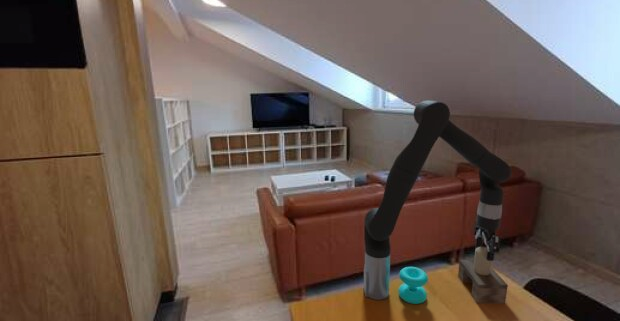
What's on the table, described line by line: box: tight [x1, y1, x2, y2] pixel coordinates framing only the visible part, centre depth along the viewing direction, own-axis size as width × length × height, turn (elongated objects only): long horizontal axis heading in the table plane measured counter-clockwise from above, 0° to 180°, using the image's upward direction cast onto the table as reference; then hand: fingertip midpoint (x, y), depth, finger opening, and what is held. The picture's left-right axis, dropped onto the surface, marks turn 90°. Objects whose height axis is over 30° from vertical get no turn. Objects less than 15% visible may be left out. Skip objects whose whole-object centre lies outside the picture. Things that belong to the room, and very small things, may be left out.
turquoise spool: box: [398, 266, 429, 305], centre depth 112 cm, size 10×10×10 cm
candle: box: [473, 246, 492, 275], centre depth 114 cm, size 6×6×10 cm
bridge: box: [457, 259, 509, 304], centre depth 116 cm, size 10×16×8 cm, turn 177°
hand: (483, 254), depth 113 cm, fingers open, 8 cm apart
